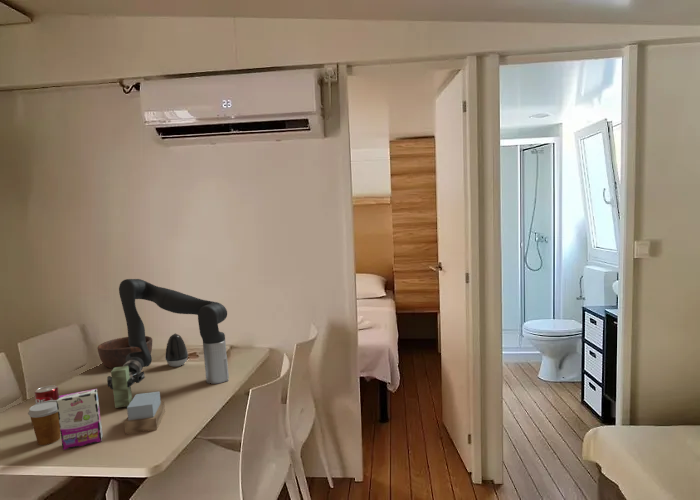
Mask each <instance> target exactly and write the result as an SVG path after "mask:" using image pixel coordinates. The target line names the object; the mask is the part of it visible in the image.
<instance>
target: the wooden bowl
mask: <svg viewBox="0 0 700 500" xmlns="http://www.w3.org/2000/svg"><path fill="white" fill-rule="evenodd" d="M145 338H146V344H147V347H148V349H149V352H150V354H151V355H152V352H153V351H152V350H153V338H152V337H151V336H148V335H145ZM96 350H97V353H98V356H99V360H100V361H101V362H102V364H103V365H104V366H105V367H106V368H109V369H114V368H115V367H122V366H123V365H124V364H125V363H126V356H127V355H128V354H129V353H133V352H140V351H142V350H141V349H140V348H139V347H131V346H129V342H128V336H125V337H119V338H114V339H111V340H107V341H104V342H102V343H100V344H99V345H98V346H97V349H96Z"/></svg>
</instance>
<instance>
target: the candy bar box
mask: <svg viewBox="0 0 700 500" xmlns="http://www.w3.org/2000/svg"><path fill="white" fill-rule="evenodd" d="M56 402H57V409H58V417H59V425H60V439H61V449H62V450H63V451H67V450H71V449H74V448H79V447H84V446H89V445H93V444H96V443H101V442H102V440H103V436H104V435H103V428H102V418H101V410H100V403H99V396H98V388H93V389H88V390H87V389H86V390H83V391H77V392H72V393H68V394H67V393H66V394H63V395H62V394H61V395H59V397H58V399H57V401H56Z"/></svg>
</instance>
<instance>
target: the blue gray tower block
mask: <svg viewBox="0 0 700 500" xmlns="http://www.w3.org/2000/svg"><path fill="white" fill-rule="evenodd" d="M161 402H162V400H161V393H160V391H153V392H151V391H150V392H146V393H145V392H144V393H143V392H142V393H137V394H135V395H134V397H132V401H131V402H130V404H129V405H128V406H126V411H127V417H128V421H129V420H136V419H144V418H151V417H154V415H155V414H156V412H157V410H158V408H159V406H160V404H161Z"/></svg>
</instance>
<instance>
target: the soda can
mask: <svg viewBox="0 0 700 500" xmlns="http://www.w3.org/2000/svg"><path fill="white" fill-rule="evenodd" d="M59 396H60V392H59V387H58V386H57V385H54V384H53V385H51V384H50V385H45V386H42V387H40V388H37V389H36V390H35V391H34V400H35V404H38V403H41V402H45V401H50V400H57V399H58V397H59Z"/></svg>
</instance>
